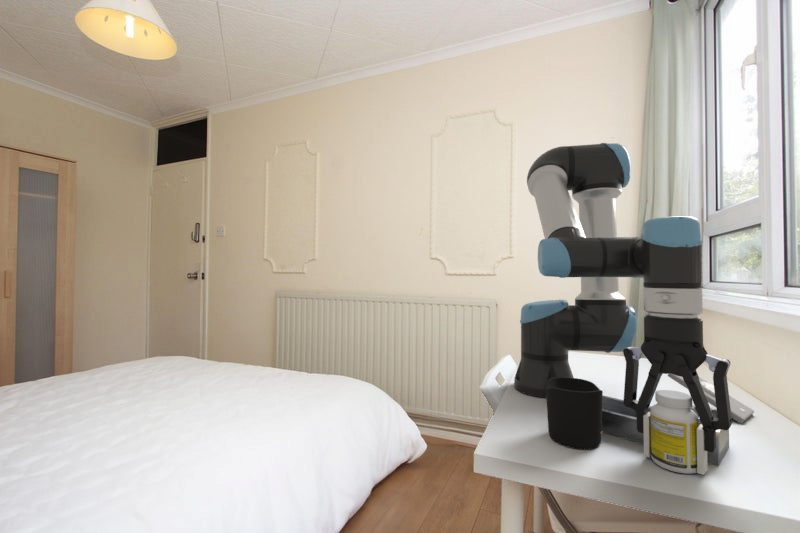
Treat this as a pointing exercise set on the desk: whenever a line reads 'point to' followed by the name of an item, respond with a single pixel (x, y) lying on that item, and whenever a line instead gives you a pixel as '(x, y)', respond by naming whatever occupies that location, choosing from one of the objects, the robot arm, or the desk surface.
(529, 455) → the desk surface
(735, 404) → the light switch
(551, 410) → the pen holder
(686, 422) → the pill bottle
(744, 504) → the desk surface
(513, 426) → the desk surface
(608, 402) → the rail
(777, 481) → the desk surface
